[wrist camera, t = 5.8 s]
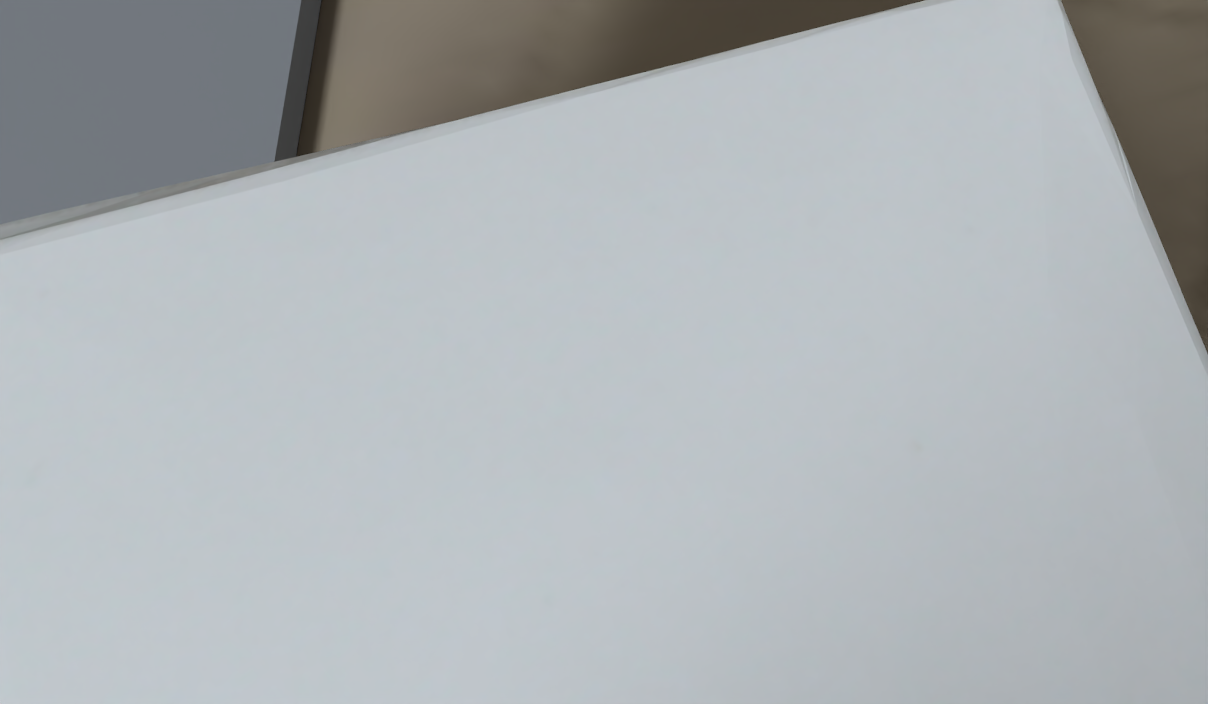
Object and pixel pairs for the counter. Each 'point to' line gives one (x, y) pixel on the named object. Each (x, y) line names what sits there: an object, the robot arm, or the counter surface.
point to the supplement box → (627, 401)
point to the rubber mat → (144, 94)
